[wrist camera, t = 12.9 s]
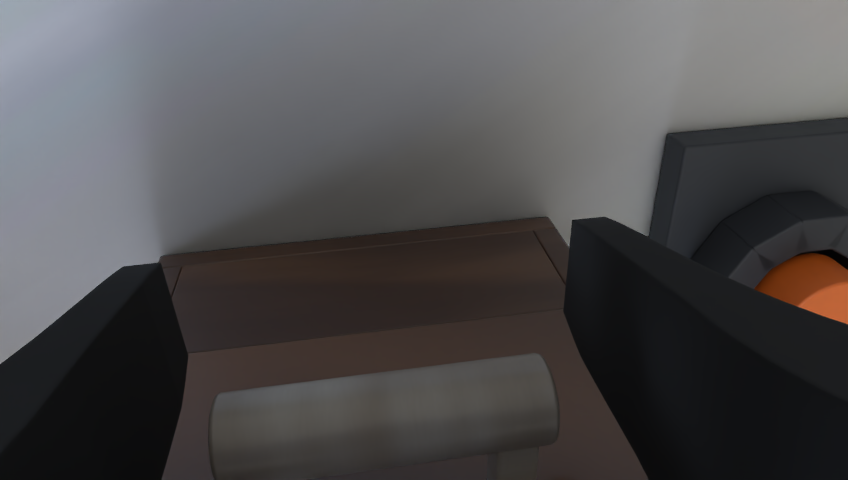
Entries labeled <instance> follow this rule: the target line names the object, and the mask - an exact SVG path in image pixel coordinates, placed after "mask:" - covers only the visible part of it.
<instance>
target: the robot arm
mask: <svg viewBox="0 0 848 480" xmlns="http://www.w3.org/2000/svg"><path fill="white" fill-rule="evenodd" d="M563 312H564V315H565V318H566V320H567V323H568V326H569V328H570V331H571V334H572V336H573V339H574V341H575V344H576V346H577V349H578V351H579V354H580V356H581V358H582V360H583V362H584V364H585V366H586V367H587V369H588V371H589V373H590V375H591V376H592V378H593V380H594V382H595V384H596V385H597V387H598V389H599V391H600V393H601V394H602V396H603V398H604V400H605V401H606V403H607V405H608V407H609V408H610V410H611V412H612V414H613V415H614V417H615V419H616V421H617V422H618V424H619V426H620V428H621V430H622V431H623V433H624V435H625V437H626V438H627V440H628V442H629V444H630V445H631V447H632V449H633V451H634V452H635V454H636V456H637V458H638V460H639V462H640V464H641V466H642V468H643V470H644V472H645V474H646V475H647V477H648V479H649V480H848V324H846V323H843V322H840V321H837V320H833V319H830V318H827V317H825V316H822V315H819V314H816V313H814V312H811V311H808V310H806V309H803V308H800V307H797V306H795V305H792V304H789V303H787V302H784V301H781V300H779V299H776V298H774V297H771V296H769V295H767V294H764V293H762V292H759V291H757V290H755V289H753V288H750V287H748V286H746V285H744V284H741V283H739V282H737V281H735V280H733V279H730V278H728V277H726V276H724V275H722V274H719V273H717V272H715V271H713V270H711V269H709V268H707V267H705V266H703V265H701V264H699V263H697V262H695V261H693V260H691V259H689V258H687V257H685V256H683V255H681V254H679V253H677V252H675V251H673V250H671V249H669V248H668V247H666V246H664V245H662V244H660V243H658V242H656V241H654V240H652V239H650V238H648V237H646V236H645V235H643V234H641V233H639V232H637V231H635V230H633V229H631V228H629V227H627V226H625V225H623V224H621V223H618V222H616V221H614V220H611V219H609V218H606V217H598V218H589V219H579V220H572V228H571V238H570V248H569V258H568V268H567V278H566V288H565V298H564V308H563ZM187 364H188V353H187V349H186V346H185V342H184V339H183V336H182V332H181V329H180V325H179V322H178V319H177V315H176V312H175V309H174V305H173V302H172V298H171V295H170V292H169V288H168V285H167V282H166V278H165V275H164V271H163V268H162V265H161V263H153V264H143V265H134V266H124V267H122V268H121V269H119V270H118V271H116V272H115V273H114V274H112V275H111V276H110V277H108V278H107V279H106V280H105V281H103V282H102V283H101V284H100V285H98V286H97V287H96V288H95V289H94V290H92V291H91V292H90V293H89V294H88V295H86V296H85V297H84V298H83V299H82V300H80V301H79V302H78V303H77V304H76V305H74V306H73V307H72V308H71V309H70V310H68V311H67V312H66V313H65V314H63V315H62V316H61V317H60V318H59V319H57V320H56V321H55V322H54V323H53V324H51V325H50V326H49V327H48V328H46V329H45V330H44V331H43V332H42V333H40V334H39V335H38V336H37V337H35V338H34V339H33V340H32V341H30V342H29V343H28V344H26V345H25V346H24V347H22V348H21V349H20V350H18V351H17V352H16V353H14V354H13V355H12V356H10V357H9V358H8V359H7V360H5V361H4V362H3V363H1V364H0V480H162V476H163V473H164V469H165V466H166V462H167V459H168V455H169V452H170V448H171V445H172V441H173V438H174V434H175V430H176V427H177V423H178V420H179V416H180V412H181V408H182V402H183V395H184V389H185V381H186V373H187Z"/></svg>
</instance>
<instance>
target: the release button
mask: <svg viewBox="0 0 848 480" xmlns="http://www.w3.org/2000/svg"><path fill="white" fill-rule="evenodd" d="M754 289H755V290H757V291H759V292H762V293H764V294H767V295H769V296H771V297H774V298H776V299H779V300H781V301H784V302H787V303H789V304H792V305H795V306H797V307H800V308H803V309H806V310H808V311H811V312H814V313H816V314H819V315H822V316H825V317H827V318H830V319H833V320H837V321H840V322H843V323H846V324H848V270H847V269H845V268H844V267H843V266H841V265H840V264H839V263H837V262H836V261H835V260H833V259H832V258H830V257H829V256H826V255H823V254H818V253H806V254H800V255H797V256H794V257H792V258H790V259H788V260H787V261H785V262H783V263H781V264H779V265H778V266H776V267H774V268H772V269H771V270H770V271H769V272H768V273H767V275H766V276H765V277H764V278H763V279H762V280H761V281H760V282H759V284H758V285H757V286H756V287H755V288H754Z"/></svg>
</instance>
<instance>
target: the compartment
mask: <svg viewBox="0 0 848 480" xmlns="http://www.w3.org/2000/svg"><path fill="white" fill-rule="evenodd" d="M568 258H569V247H568V245H567V244H566V242H565V241H564V239H563V238H562V237H561V235H560V234H559V232H558V231H557V229H556V228H555V226H554V225H553V223H552V222H551V220H550V219H549V218H548V217H542V218H532V219H522V220H512V221H502V222H492V223H482V224H473V225H463V226H453V227H443V228H433V229H423V230H413V231H403V232H394V233H384V234H374V235H364V236H354V237H344V238H334V239H325V240H315V241H305V242H295V243H285V244H275V245H265V246H256V247H246V248H236V249H226V250H216V251H206V252H196V253H186V254H177V255H167V256H161V257H160V260H159V262H158V263H161V265H162V268H163V271H164V275H165V278H166V282H167V285H168V288H169V292H170V295H171V298H172V302H173V305H174V309H175V312H176V315H177V319H178V322H179V325H180V329H181V332H182V336H183V339H184V342H185V346H186V349H187V353H188V354H190V353H198V352H207V351H215V350H224V349H232V348H240V347H249V346H257V345H266V344H274V343H283V342H291V341H300V340H308V339H316V338H325V337H333V336H342V335H350V334H359V333H367V332H376V331H384V330H392V329H401V328H409V327H418V326H426V325H435V324H443V323H452V322H460V321H468V320H477V319H485V318H494V317H502V316H511V315H519V314H528V313H536V312H544V311H553V310H561V309H563V308H564V298H565V288H566V278H567V268H568Z"/></svg>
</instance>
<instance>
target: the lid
mask: <svg viewBox="0 0 848 480" xmlns="http://www.w3.org/2000/svg"><path fill="white" fill-rule="evenodd" d="M162 480H649V479H648V477H647V475H646V474H645V472H644V470H643V468H642V466H641V464H640V462H639V460H638V458H637V456H636V454H635V452H634V451H633V449H632V447H631V445H630V444H629V442H628V440H627V438H626V437H625V435H624V433H623V431H622V430H621V428H620V426H619V424H618V422H617V421H616V419H615V417H614V415H613V414H612V412H611V410H610V408H609V407H608V405H607V403H606V401H605V400H604V398H603V396H602V394H601V393H600V391H599V389H598V387H597V385H596V384H595V382H594V380H593V378H592V376H591V375H590V373H589V371H588V369H587V367H586V366H585V364H584V362H583V360H582V358H581V356H580V354H579V351H578V349H577V346H576V344H575V341H574V339H573V336H572V334H571V331H570V328H569V326H568V323H567V320H566V318H565V315H564V312H563V309H561V310H553V311H544V312H536V313H528V314H519V315H511V316H502V317H494V318H485V319H477V320H468V321H460V322H452V323H443V324H435V325H426V326H418V327H409V328H401V329H392V330H384V331H376V332H367V333H359V334H350V335H342V336H333V337H325V338H316V339H308V340H300V341H291V342H283V343H274V344H266V345H257V346H249V347H240V348H232V349H224V350H215V351H207V352H198V353H190V354H188V364H187V373H186V381H185V389H184V395H183V402H182V408H181V412H180V416H179V420H178V423H177V427H176V430H175V434H174V438H173V441H172V445H171V448H170V452H169V455H168V459H167V462H166V466H165V469H164V473H163V476H162Z"/></svg>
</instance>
